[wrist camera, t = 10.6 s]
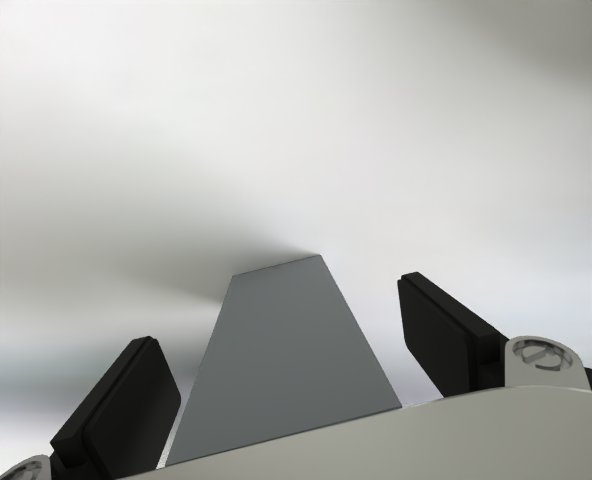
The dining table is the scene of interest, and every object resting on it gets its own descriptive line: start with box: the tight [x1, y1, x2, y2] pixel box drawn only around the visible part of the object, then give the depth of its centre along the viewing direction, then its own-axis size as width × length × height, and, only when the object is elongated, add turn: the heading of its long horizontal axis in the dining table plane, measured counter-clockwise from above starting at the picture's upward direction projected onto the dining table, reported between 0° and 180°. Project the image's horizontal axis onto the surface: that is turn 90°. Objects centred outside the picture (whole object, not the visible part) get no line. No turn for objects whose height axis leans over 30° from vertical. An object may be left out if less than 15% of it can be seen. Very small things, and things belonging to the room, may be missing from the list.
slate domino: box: [165, 255, 402, 467], centre depth 11 cm, size 2×5×10 cm, turn 103°
